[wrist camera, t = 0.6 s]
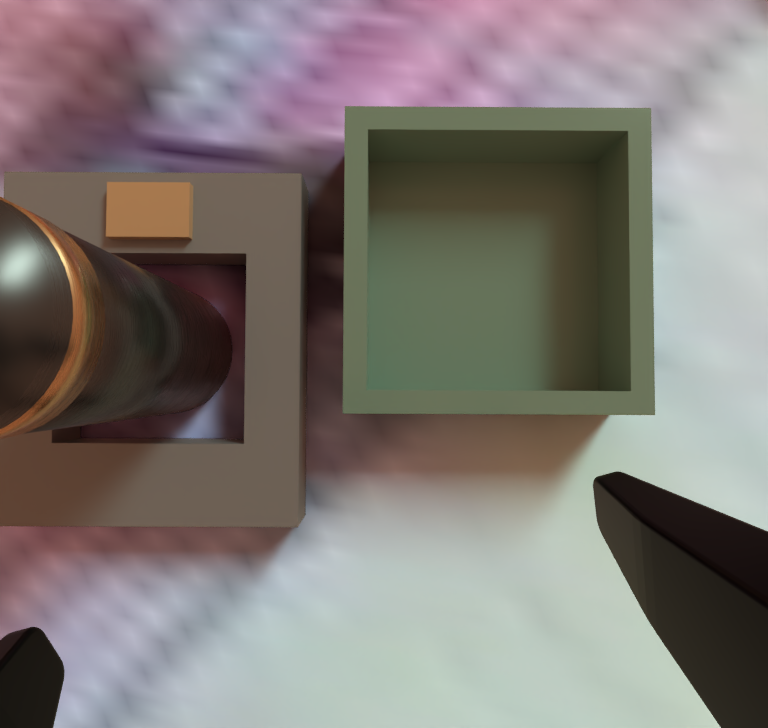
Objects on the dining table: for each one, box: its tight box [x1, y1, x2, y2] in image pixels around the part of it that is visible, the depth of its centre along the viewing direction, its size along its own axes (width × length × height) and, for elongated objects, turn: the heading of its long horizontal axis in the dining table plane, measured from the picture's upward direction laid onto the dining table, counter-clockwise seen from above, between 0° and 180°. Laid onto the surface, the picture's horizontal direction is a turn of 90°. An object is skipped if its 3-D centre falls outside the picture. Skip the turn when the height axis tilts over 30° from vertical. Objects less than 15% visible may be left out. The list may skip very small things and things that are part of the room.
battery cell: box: [0, 197, 232, 439], centre depth 16 cm, size 5×5×13 cm
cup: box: [343, 106, 655, 415], centre depth 21 cm, size 11×11×4 cm
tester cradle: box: [0, 172, 308, 527], centre depth 22 cm, size 13×11×2 cm
